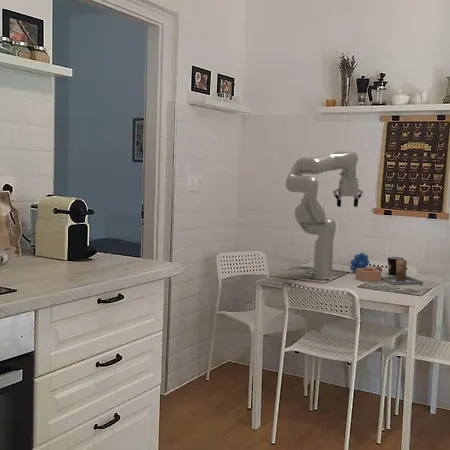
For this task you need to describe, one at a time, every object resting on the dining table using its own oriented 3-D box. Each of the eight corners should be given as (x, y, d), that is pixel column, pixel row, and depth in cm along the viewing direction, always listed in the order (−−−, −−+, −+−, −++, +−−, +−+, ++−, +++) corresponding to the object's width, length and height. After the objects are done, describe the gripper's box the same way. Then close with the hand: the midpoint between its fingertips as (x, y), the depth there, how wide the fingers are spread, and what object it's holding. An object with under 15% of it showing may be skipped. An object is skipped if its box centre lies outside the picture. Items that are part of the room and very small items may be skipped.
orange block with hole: (363, 283, 313) (364, 271, 313) (355, 279, 322) (356, 268, 322) (380, 282, 316) (381, 271, 315) (372, 279, 325) (372, 267, 324)
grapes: (363, 272, 343) (365, 251, 342) (371, 274, 337) (372, 252, 336) (345, 273, 339) (346, 251, 338) (352, 275, 333) (353, 253, 332)
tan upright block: (398, 283, 312) (399, 261, 311) (394, 281, 317) (394, 260, 315) (407, 282, 313) (408, 261, 312) (403, 280, 318) (403, 259, 316)
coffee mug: (403, 278, 329) (404, 259, 328) (387, 277, 331) (388, 258, 330) (402, 274, 341) (403, 256, 340) (385, 273, 342) (386, 255, 341)
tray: (393, 287, 306) (393, 282, 306) (379, 281, 319) (379, 276, 319) (422, 286, 310) (422, 281, 310) (407, 280, 323) (407, 275, 323)
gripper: (336, 175, 330) (335, 207, 332) (366, 175, 334) (365, 207, 336) (331, 174, 337) (329, 206, 339) (360, 175, 341) (358, 206, 343)
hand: (347, 206), depth 337 cm, fingers open, 9 cm apart
